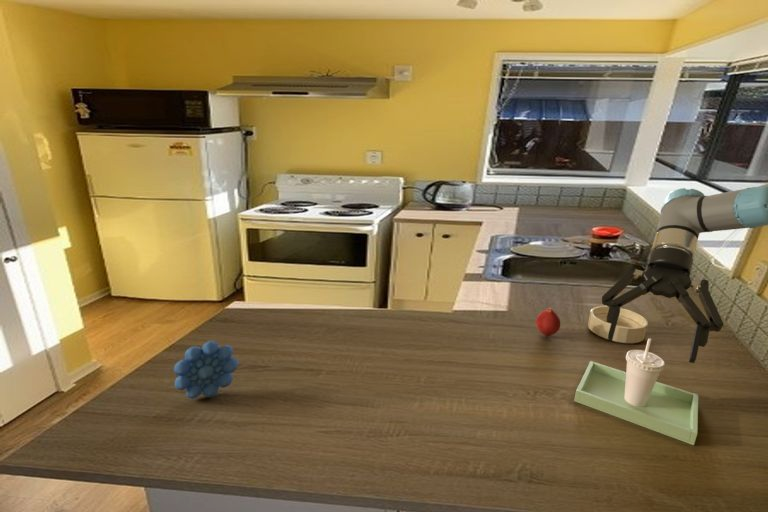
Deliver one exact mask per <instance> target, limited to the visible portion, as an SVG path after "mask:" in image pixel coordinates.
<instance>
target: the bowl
mask: <svg viewBox="0 0 768 512" xmlns="http://www.w3.org/2000/svg"><path fill="white" fill-rule="evenodd" d="M608 311H609V307H608V306H607V305H599V306H594V307H592V308H591V309H590V312H589V315H588V316H589V317H588V321H587V327H588V329H589V330H590V331H591V332H592V333H594V334H595V335H597V336H598V337H601V338H603V339H606V340H608V334H609V330H610V327H611V323H608V322H607V314H608ZM648 325H649V321H648V320H647V319H646V318H645V317H644V316H642V315H641V314H639V313H637V312H635V311H633V310H630V309H626V308H623V307H620V314H619V317H618V321H617V325H616V328H615V332H614V336H613V339H612V341H613V342H616V343H620V344H621V343H622V344H638V343H641V342H642V341H644V340H645V337H646V332H647V329H648ZM612 341H611V342H612Z"/></svg>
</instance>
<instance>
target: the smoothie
mask: <svg viewBox="0 0 768 512" xmlns="http://www.w3.org/2000/svg"><path fill="white" fill-rule="evenodd" d="M651 343H652V338H650V337H648V338H647V342H646V345H645V349H644V350H643V349H630V350H628V351H627V352H626V355H625V361H626V368H625V372H626V382H625V395H624V399H625V401H626V402H628V403H629V404H631V405H633V406H637V407H643V406H645V405H646V403H647V400H648V398H649V396H650V394H651V391H652V389H653V387H654V385H655V383H656V382H657V380H658V378H659V377H660V374H661V372H662V371H664V369H665V365H666V362H665V360H664V359H663V358H662V357H660V356H659V355H657V354H656V353H653V352H650V347H651Z"/></svg>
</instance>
